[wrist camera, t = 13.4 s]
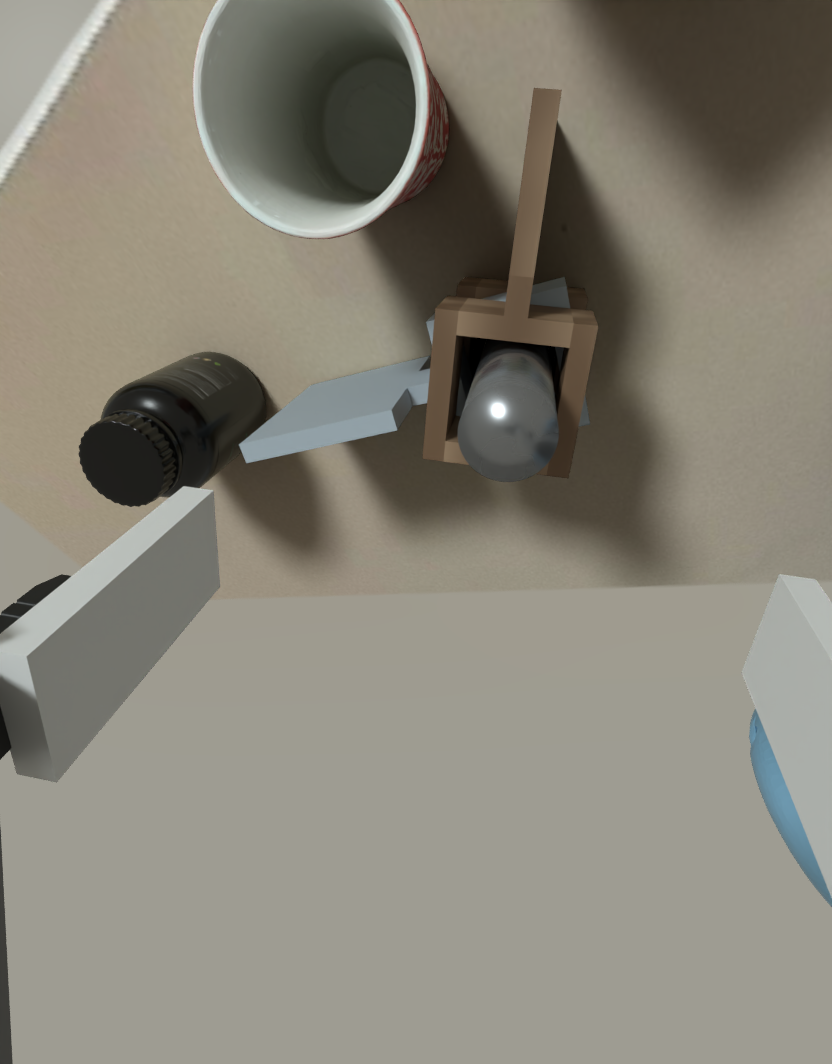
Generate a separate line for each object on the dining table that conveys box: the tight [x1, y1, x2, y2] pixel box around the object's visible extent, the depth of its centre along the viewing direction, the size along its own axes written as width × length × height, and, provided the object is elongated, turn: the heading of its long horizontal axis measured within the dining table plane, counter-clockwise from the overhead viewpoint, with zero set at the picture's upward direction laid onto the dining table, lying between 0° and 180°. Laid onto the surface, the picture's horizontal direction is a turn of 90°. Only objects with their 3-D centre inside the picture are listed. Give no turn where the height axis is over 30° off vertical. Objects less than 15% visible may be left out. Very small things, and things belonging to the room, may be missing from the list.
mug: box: [193, 0, 449, 239], centre depth 30 cm, size 13×9×14 cm
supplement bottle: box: [79, 352, 266, 507], centre depth 40 cm, size 7×7×12 cm
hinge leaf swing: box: [239, 277, 590, 463], centre depth 36 cm, size 17×7×12 cm, turn 106°
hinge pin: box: [458, 339, 559, 482], centre depth 32 cm, size 4×4×18 cm
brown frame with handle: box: [422, 88, 598, 478], centre depth 33 cm, size 7×15×12 cm, turn 176°
